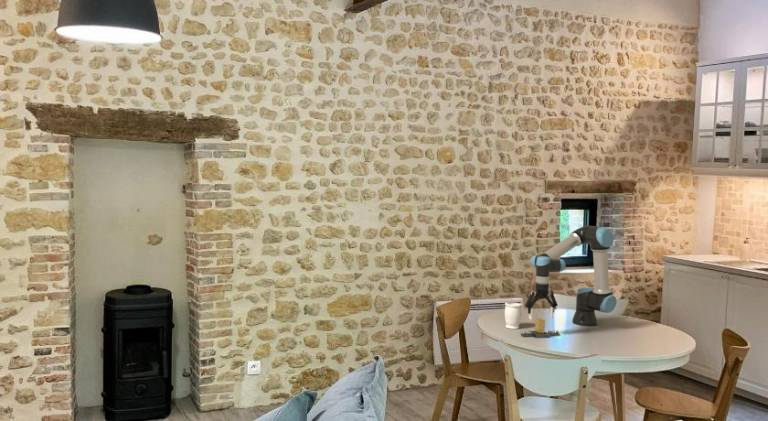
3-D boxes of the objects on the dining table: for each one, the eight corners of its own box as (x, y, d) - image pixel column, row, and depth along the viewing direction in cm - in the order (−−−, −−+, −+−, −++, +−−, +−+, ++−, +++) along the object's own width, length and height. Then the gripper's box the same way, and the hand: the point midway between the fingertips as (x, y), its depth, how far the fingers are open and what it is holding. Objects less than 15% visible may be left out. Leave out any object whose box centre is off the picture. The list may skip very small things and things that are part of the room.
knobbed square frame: (554, 333, 404) (554, 329, 404) (562, 337, 395) (562, 333, 395) (518, 334, 397) (518, 330, 397) (525, 338, 389) (525, 334, 388)
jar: (520, 330, 408) (522, 306, 407) (503, 328, 410) (504, 304, 409) (520, 326, 419) (522, 302, 418) (504, 324, 421) (505, 301, 420)
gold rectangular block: (540, 335, 399) (541, 318, 398) (544, 336, 395) (545, 320, 394) (534, 335, 398) (535, 318, 397) (537, 336, 394) (538, 320, 393)
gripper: (557, 281, 401) (556, 316, 403) (520, 282, 394) (518, 317, 396) (564, 283, 394) (562, 319, 395) (526, 284, 387) (524, 320, 389)
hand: (540, 318), depth 396 cm, fingers open, 13 cm apart
